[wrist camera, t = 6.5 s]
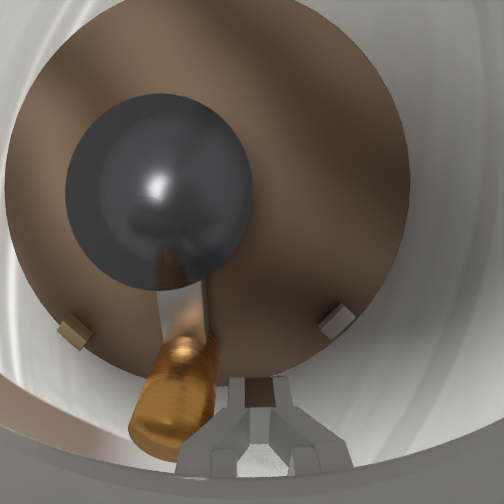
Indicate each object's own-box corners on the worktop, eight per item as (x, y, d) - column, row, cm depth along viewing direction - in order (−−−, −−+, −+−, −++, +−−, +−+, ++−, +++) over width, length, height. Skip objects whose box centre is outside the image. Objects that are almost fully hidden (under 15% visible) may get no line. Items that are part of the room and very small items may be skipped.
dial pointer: (114, 125, 10) (29, 101, 5) (248, 114, 10) (254, 65, 5) (141, 366, 12) (103, 451, 7) (252, 369, 12) (257, 464, 7)
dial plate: (185, -48, 9) (178, -74, 7) (453, 180, 12) (482, 184, 10) (-16, 216, 12) (-42, 224, 10) (217, 417, 15) (215, 447, 13)
